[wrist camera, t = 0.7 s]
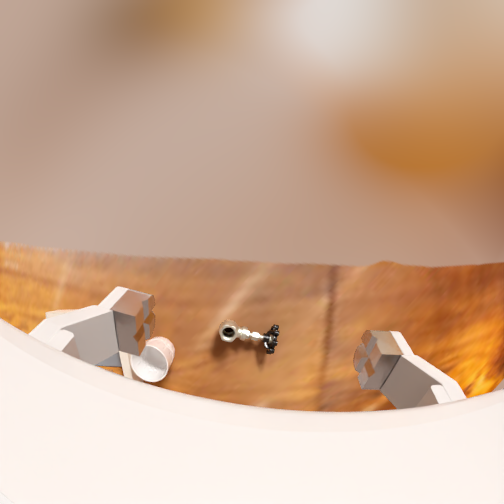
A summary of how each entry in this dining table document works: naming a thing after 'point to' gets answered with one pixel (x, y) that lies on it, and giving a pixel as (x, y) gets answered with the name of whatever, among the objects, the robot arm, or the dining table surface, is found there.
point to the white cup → (154, 359)
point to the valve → (249, 334)
